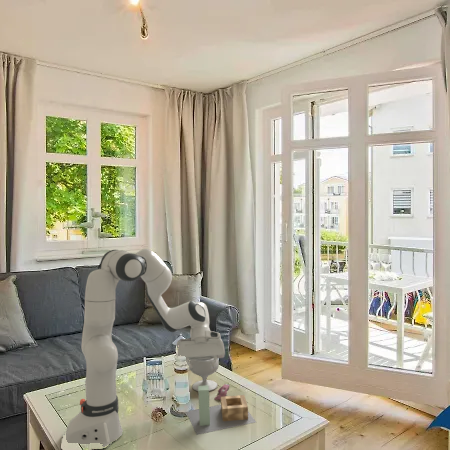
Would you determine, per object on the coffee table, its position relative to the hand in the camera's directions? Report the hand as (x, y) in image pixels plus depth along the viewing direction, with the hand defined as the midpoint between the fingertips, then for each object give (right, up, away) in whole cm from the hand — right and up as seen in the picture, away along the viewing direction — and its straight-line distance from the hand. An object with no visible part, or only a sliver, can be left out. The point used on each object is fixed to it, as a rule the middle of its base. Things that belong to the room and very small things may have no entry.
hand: (202, 368), depth 170 cm
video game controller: (+8, -18, +12) cm, 23 cm away
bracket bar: (+2, -18, -10) cm, 20 cm away
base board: (+8, -19, -6) cm, 21 cm away
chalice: (0, -17, +24) cm, 30 cm away
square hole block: (+13, -17, -4) cm, 22 cm away
